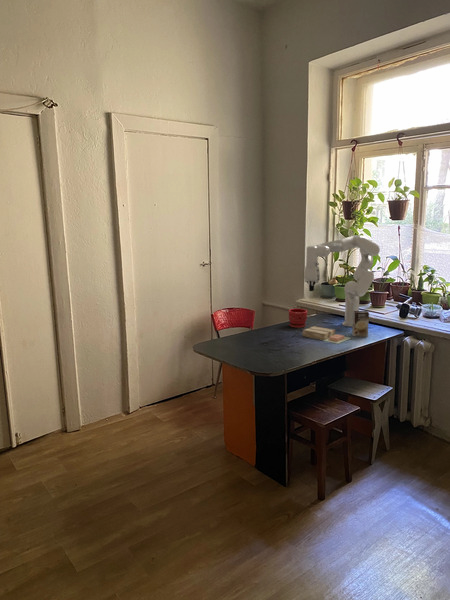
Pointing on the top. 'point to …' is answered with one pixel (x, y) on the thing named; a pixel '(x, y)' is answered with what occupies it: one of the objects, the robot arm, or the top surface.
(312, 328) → the deck
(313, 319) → the top surface
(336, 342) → the mat
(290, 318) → the plant pot
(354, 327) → the coffee box
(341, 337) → the salmon brown flat block
